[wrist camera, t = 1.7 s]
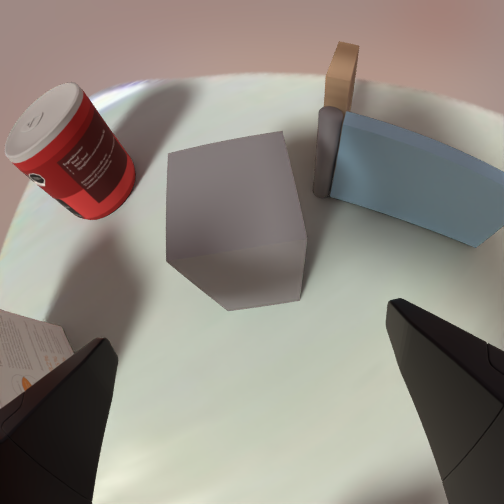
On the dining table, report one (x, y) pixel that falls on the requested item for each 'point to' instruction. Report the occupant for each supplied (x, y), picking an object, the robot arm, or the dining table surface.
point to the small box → (28, 353)
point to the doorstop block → (236, 221)
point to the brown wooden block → (341, 79)
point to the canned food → (72, 153)
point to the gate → (407, 177)
